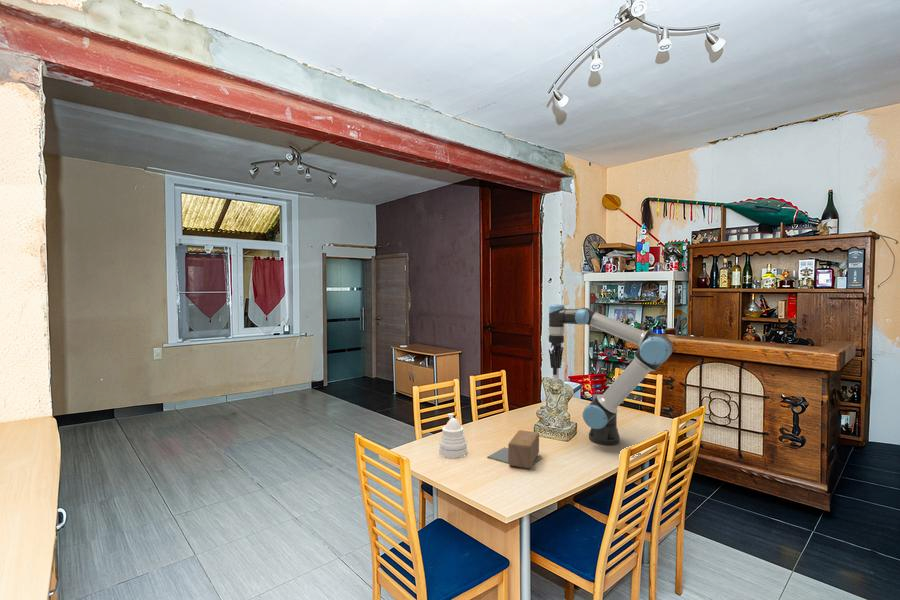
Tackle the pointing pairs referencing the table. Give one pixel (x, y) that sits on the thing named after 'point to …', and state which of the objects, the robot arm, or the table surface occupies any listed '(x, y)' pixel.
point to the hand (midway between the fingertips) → (555, 380)
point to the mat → (506, 456)
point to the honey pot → (453, 439)
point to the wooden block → (523, 449)
